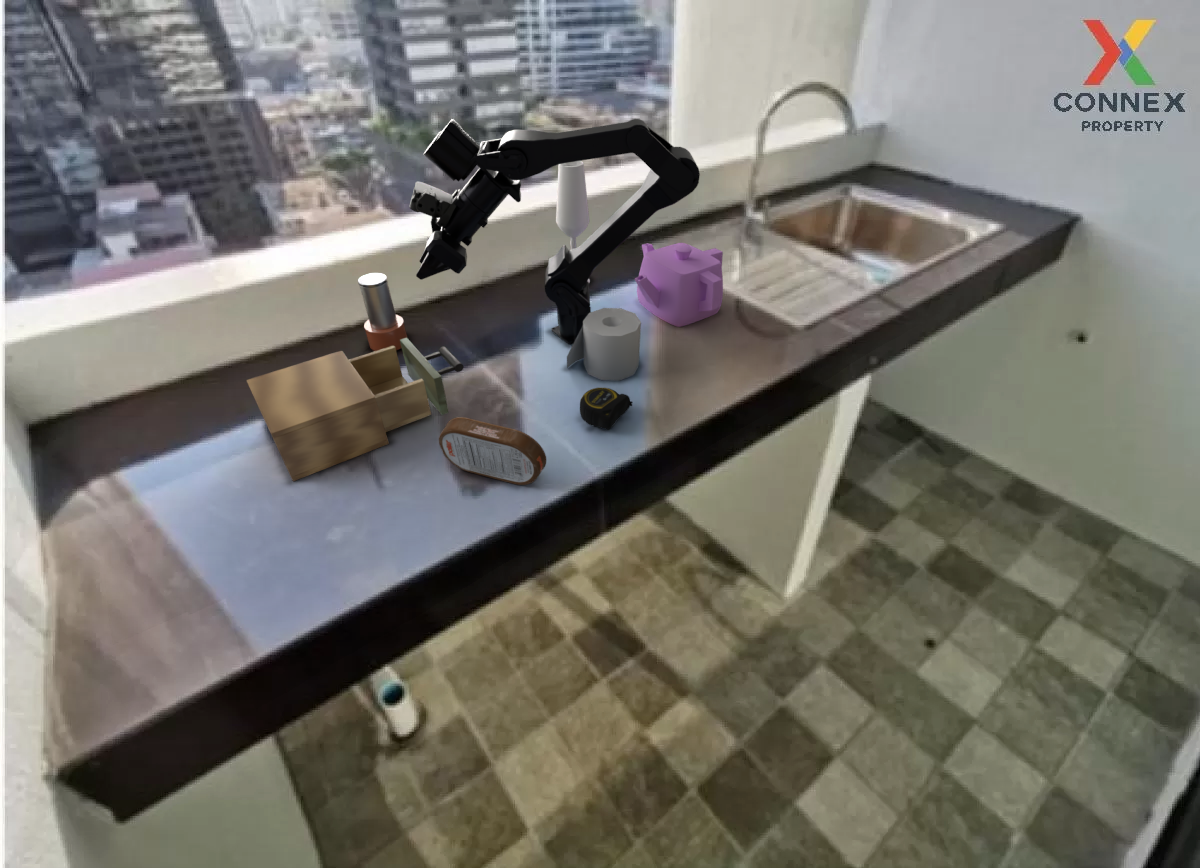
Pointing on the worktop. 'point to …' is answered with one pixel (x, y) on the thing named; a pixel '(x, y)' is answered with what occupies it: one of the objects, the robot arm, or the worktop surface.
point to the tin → (492, 451)
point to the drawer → (405, 382)
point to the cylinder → (377, 300)
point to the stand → (386, 335)
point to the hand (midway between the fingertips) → (420, 270)
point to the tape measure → (603, 407)
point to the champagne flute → (572, 200)
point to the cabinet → (319, 413)
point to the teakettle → (680, 283)
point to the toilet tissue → (608, 344)
